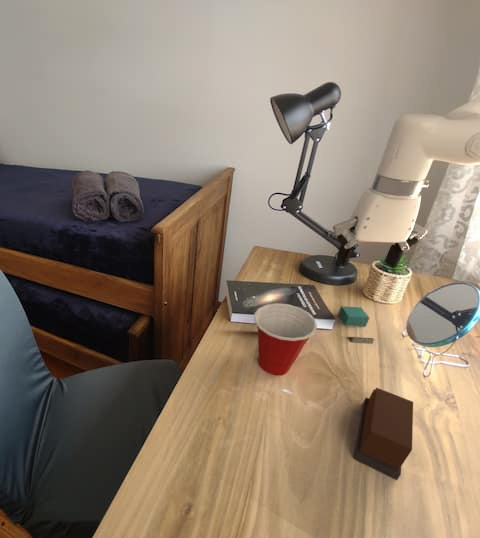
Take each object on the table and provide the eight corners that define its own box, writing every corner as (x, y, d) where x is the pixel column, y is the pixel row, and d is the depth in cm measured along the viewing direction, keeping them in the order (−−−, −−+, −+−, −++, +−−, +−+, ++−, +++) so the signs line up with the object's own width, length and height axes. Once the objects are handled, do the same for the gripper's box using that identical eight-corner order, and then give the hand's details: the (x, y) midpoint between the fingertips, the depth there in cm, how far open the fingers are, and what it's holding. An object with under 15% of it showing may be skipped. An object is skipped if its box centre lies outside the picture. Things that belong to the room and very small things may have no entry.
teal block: (334, 317, 86) (339, 303, 84) (353, 318, 85) (359, 304, 83) (351, 342, 78) (357, 328, 76) (372, 343, 78) (379, 329, 76)
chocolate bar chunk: (363, 402, 64) (375, 377, 61) (400, 418, 61) (416, 392, 58) (353, 459, 55) (367, 432, 52) (397, 480, 52) (414, 453, 49)
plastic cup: (239, 345, 78) (249, 300, 72) (291, 348, 77) (305, 302, 71) (250, 384, 68) (262, 336, 62) (309, 387, 67) (327, 339, 61)
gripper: (433, 180, 70) (399, 257, 79) (340, 178, 72) (316, 253, 80) (460, 192, 63) (420, 274, 72) (357, 190, 65) (330, 270, 74)
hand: (365, 263), depth 76 cm, fingers open, 9 cm apart
